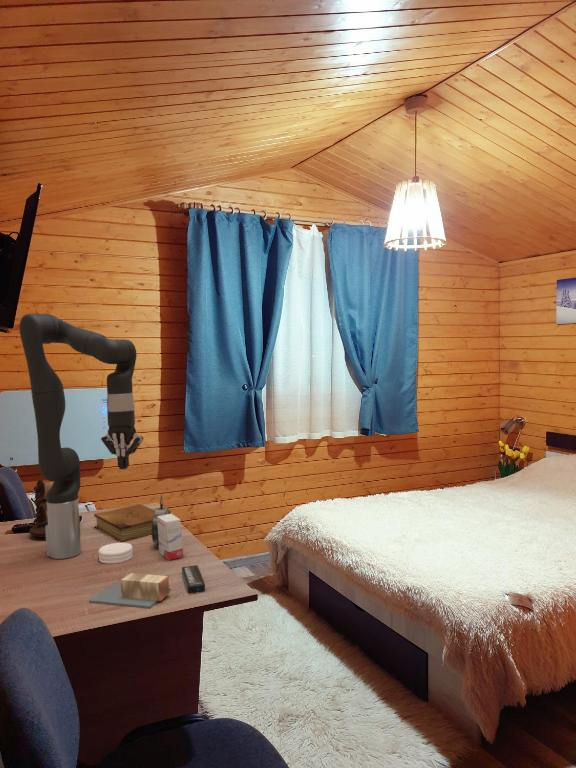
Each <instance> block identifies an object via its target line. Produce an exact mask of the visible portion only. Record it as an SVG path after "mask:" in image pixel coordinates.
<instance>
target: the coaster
mask: <svg viewBox="0 0 576 768" xmlns="http://www.w3.org/2000/svg"><path fill="white" fill-rule="evenodd" d="M133 548H134V546H133V545H132V544H131V543H128V542H113V543H107V544H106V545H102V546H101V547H100V548H99V549H98V561H99V562H100V563H102V564H105V565H106V564H107V565H113V564H114V565H115V564H120V563H125V562H127V561H129V560H131V559H132V558H133V557H134V553H133V551H134V550H133Z"/></svg>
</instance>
